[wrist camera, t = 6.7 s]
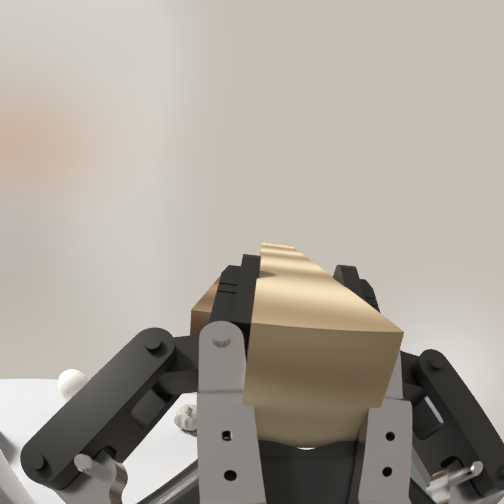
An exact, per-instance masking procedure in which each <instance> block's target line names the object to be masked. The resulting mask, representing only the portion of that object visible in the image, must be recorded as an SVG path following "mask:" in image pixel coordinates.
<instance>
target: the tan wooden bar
mask: <svg viewBox="0 0 504 504" xmlns="http://www.w3.org/2000/svg"><path fill="white" fill-rule="evenodd" d="M260 256H261V263H260V273H259V279H257V282H256V290H255V298H254V306H253V313H252V321H251V330H250V338H249V347H248V355H247V364H246V372H245V381H244V389H243V397H242V404H243V405H253V406H254V414H255V422H256V430H257V438H258V440H263V441H274V442H277V443H280V444H284V445H288V446H291V447H295V448H318V447H322V446H326V445H329V444H333V443H336V442H343V441H358V429H359V427H360V425H361V423H362V421H363V419H364V417H365V415H366V413H367V411H368V409H369V408H380V407H381V405H382V402H383V399H384V397H385V394H386V391H387V388H388V385H389V382H390V379H391V376H392V373H393V370H394V366H395V363H396V360H397V356H398V353H399V349H400V346H401V342H402V338H403V334H404V332H403V331H402V330H401V329H400V328H398V327H397V326H396V325H394V324H393V323H392V322H391V321H389V320H388V319H387V318H386V317H384V316H383V315H382V314H380V313H379V312H378V311H377V310H375V309H374V308H373V307H371V306H370V305H369V304H368V303H366V302H365V301H364V300H362V299H361V298H360V297H358V296H357V295H356V294H355V293H353V292H352V291H351V290H349V289H348V288H346V287H344V286H343V285H341V284H340V283H339V282H337V281H336V280H335V279H334V278H333V277H332V276H331V275H329V274H328V273H327V272H326V271H324V270H323V269H321V268H320V267H319V266H317V265H316V264H315V263H313V262H312V261H311V260H309V259H308V258H307V257H305V256H304V255H303V254H301V253H300V252H298V251H297V250H296V249H295V248H293V247H292V246H289V245H280V244H271V243H261V250H260Z"/></svg>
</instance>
